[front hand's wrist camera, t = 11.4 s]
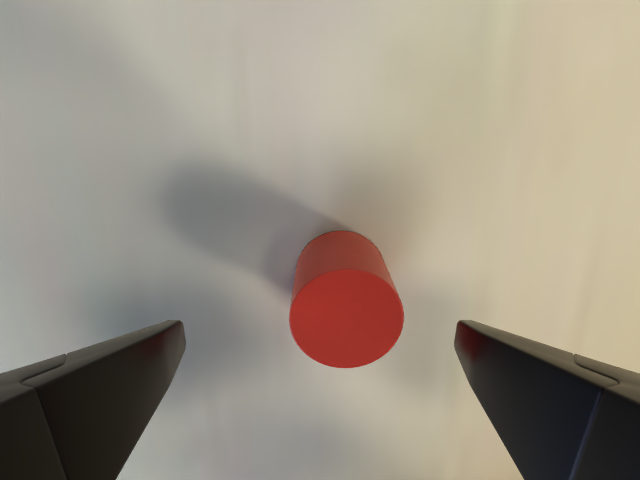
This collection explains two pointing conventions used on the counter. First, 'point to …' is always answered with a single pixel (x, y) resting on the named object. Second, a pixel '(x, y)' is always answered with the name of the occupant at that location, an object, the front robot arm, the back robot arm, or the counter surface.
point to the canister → (344, 302)
